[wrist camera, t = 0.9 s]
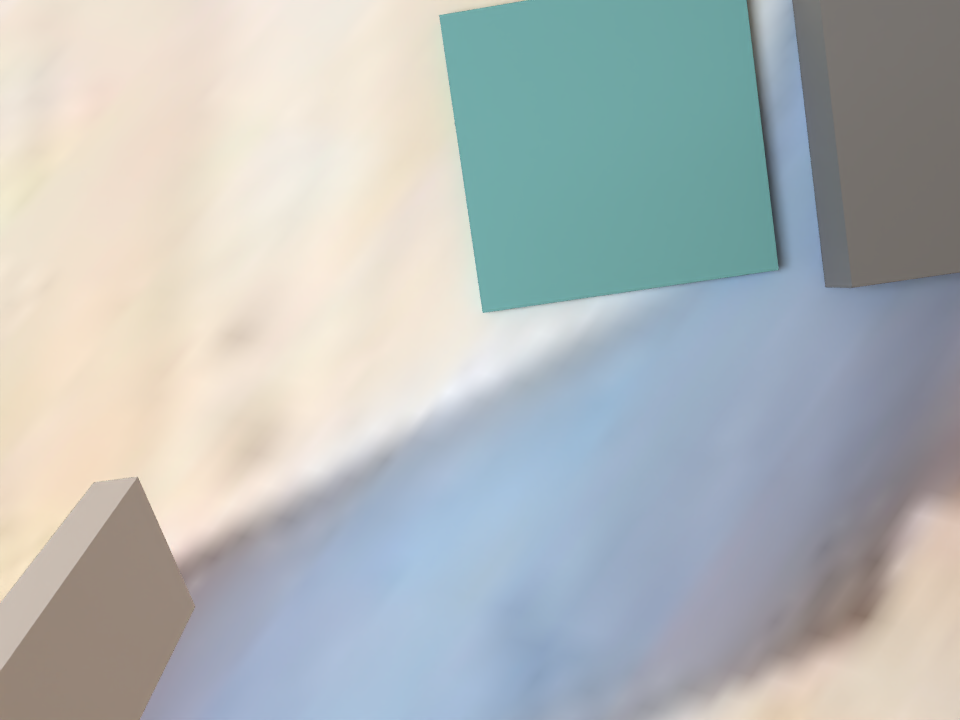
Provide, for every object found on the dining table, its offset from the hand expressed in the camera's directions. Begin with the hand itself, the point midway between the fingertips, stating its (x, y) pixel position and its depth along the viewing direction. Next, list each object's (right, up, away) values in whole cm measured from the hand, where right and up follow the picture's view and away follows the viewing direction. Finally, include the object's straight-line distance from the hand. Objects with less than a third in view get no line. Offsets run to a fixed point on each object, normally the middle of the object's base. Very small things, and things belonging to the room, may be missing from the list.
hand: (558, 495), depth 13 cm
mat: (+4, +11, +22) cm, 25 cm away
